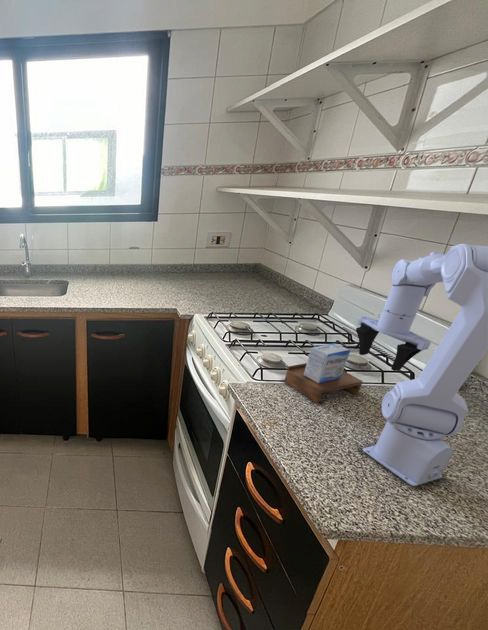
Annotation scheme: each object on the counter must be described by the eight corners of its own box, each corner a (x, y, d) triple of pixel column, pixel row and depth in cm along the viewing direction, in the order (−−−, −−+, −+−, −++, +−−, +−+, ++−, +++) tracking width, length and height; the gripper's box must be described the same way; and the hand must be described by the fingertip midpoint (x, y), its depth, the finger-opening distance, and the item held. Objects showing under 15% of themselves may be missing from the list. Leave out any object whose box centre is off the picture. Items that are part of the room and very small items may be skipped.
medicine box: (318, 384, 88) (327, 355, 85) (302, 375, 92) (311, 346, 89) (340, 378, 90) (351, 350, 87) (324, 370, 94) (334, 342, 91)
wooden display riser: (358, 394, 91) (364, 378, 89) (316, 403, 88) (321, 387, 86) (323, 373, 100) (328, 358, 98) (284, 381, 96) (288, 366, 94)
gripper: (449, 322, 75) (424, 374, 81) (379, 299, 88) (361, 345, 93) (426, 325, 73) (402, 379, 79) (358, 302, 86) (341, 349, 92)
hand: (378, 361), depth 86 cm, fingers open, 7 cm apart
